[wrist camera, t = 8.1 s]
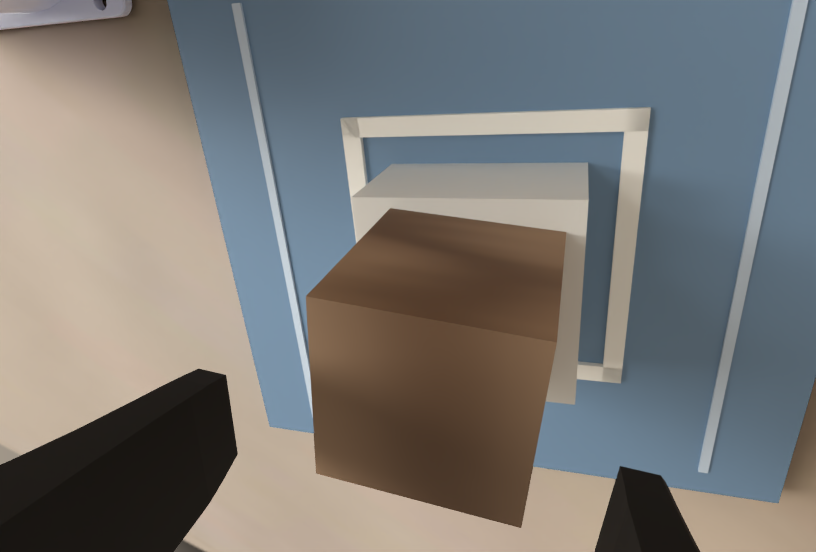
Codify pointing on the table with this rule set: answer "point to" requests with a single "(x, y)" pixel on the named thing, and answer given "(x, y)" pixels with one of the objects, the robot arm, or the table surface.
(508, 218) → the base block
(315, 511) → the table surface
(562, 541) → the table surface
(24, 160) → the table surface
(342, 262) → the walnut block
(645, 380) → the blueprint board
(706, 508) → the table surface
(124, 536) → the robot arm
